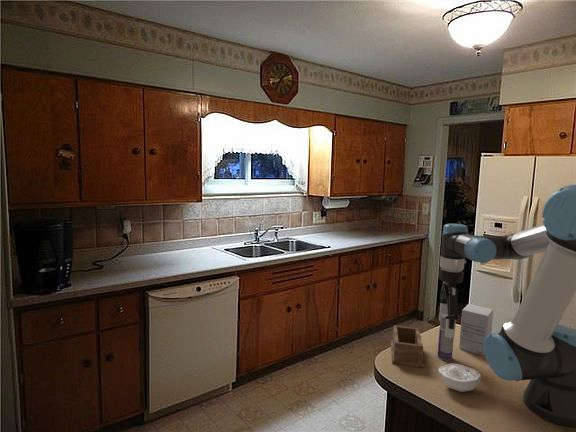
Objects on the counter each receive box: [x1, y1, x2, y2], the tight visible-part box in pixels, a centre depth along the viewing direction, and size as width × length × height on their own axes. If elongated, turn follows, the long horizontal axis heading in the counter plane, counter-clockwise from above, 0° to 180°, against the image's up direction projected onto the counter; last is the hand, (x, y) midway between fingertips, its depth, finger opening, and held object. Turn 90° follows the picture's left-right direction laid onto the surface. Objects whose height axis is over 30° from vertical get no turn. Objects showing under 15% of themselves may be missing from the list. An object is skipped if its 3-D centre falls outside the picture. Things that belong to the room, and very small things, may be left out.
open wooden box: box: [390, 324, 425, 369], centre depth 133 cm, size 16×10×7 cm, turn 166°
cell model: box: [438, 363, 482, 393], centre depth 113 cm, size 10×12×7 cm
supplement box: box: [458, 303, 494, 357], centre depth 139 cm, size 9×9×15 cm
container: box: [437, 314, 455, 362], centre depth 131 cm, size 5×5×15 cm
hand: (446, 328), depth 131 cm, fingers open, 13 cm apart
